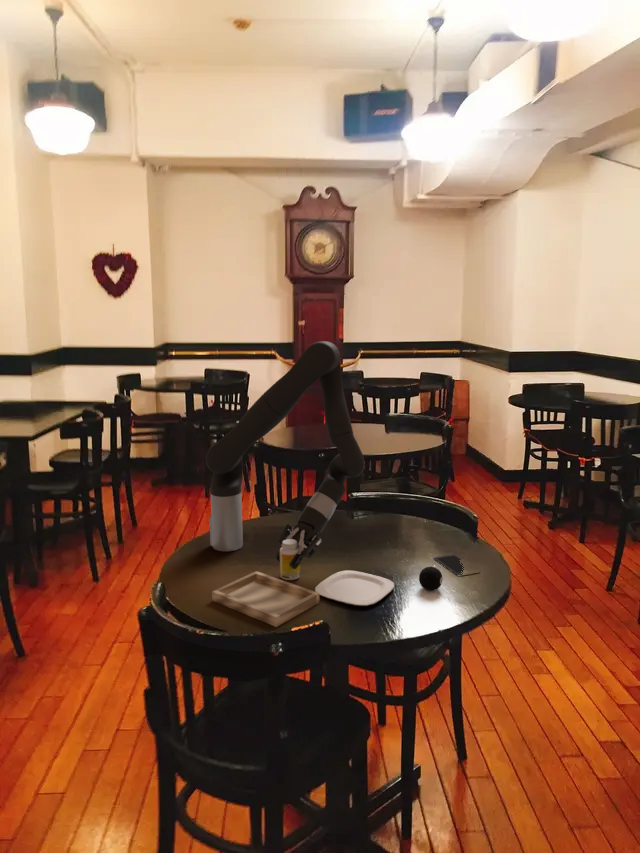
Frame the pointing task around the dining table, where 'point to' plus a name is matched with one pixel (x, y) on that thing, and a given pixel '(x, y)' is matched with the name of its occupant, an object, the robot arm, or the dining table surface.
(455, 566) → the cell phone
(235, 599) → the serving tray
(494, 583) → the dining table surface
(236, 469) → the robot arm
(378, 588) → the plate
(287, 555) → the supplement bottle
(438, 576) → the billiard ball
